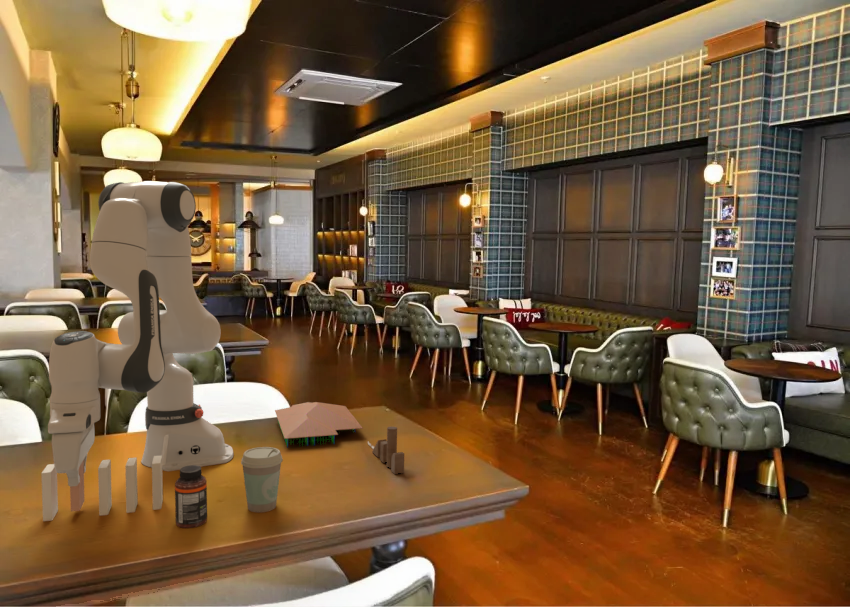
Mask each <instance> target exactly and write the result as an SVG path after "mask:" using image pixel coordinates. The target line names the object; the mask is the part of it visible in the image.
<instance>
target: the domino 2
mask: <svg viewBox="0 0 850 607" xmlns="http://www.w3.org/2000/svg"><path fill="white" fill-rule="evenodd" d="M97 470H98V472H97V473H98V477H97V478H98V482H97V483H98V512H99V514H98V516H107V515H109V514H110V510H111V508H112V506H113V504H112V500H113V499H112V461H111V459H102V460H101V462H100V464H99V466H98V469H97Z"/></svg>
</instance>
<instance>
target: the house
mask: <svg viewBox="0 0 850 607" xmlns="http://www.w3.org/2000/svg"><path fill="white" fill-rule="evenodd" d="M274 412H275V415H276V417H277V423H278V426H279V429H280V431H281V433H282V436H283V439H284V442H285V445H286V448H289V443H290V444H292V443H293V441H292V439H301V438H302V440H299V443H302V444H301V445H302V447H303V445H304V446H305V447H306V446H307V447H309V438H310V441H311V446H313V447H315V446H316V441H320V446H321V445H322V444H323V445H324V444H325V443H324V441H327V440H329V441H330V440H331V443H332V444H333V445H335V438H336V437H335V436H338V435H339V433H338V432H337V431H348V430H352V432H353V433H354V432H355V433H356V430H357V429H363V427H362V425H361V424H360V422H358V420H357V419H356V417H355V416H354V415H353V413H351V412H350V410H349V409H348V408H347V406H346V405H339V404H334V403H333V404H332V403H325V402H317V401H315V402H312V401H311V402H310V401H307V402H303V403H299V404H292V405H291V407H290V406H289V407H286V408H285V407H283V408H279V409H275V410H274ZM353 430H354V431H353ZM352 432H351V433H352ZM327 436H328V439H327V438H325V439H324V437H327ZM319 437H320V438H319ZM321 437H322V438H321ZM316 438H317V439H316ZM330 438H331V439H330ZM289 441H290V442H289ZM321 441H322V442H323V443H322V444H321ZM303 442H304V443H305V444H303ZM301 445H300V444H299V447H300V446H301Z"/></svg>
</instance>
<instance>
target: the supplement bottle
mask: <svg viewBox="0 0 850 607" xmlns="http://www.w3.org/2000/svg"><path fill="white" fill-rule="evenodd" d="M207 486H208V483H207V478H206V477H205V476H204V475H202V466H201V467H200V466H197V465H190V466H185V467H182V468H181V469H180V470H179V478H177V480H175V483H174V500H175V501H174V502H175V503H174V504H175V524H176V526H177V527H178V528H182V529H193V528H197V527H200V526H203V525H205V523H207V520H208V491H207V490H208V487H207Z"/></svg>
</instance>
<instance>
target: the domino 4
mask: <svg viewBox="0 0 850 607" xmlns="http://www.w3.org/2000/svg"><path fill="white" fill-rule="evenodd" d="M151 481H152V482H151V486H152V488H151V489H152V495H151V496H152V510H153V511H154V510H162V506H163V502H164V501H163V500H164V496H163V495H164V492H163V491H164V490H163V486H164V485H163V483H164V482H163V470H162V455H161V456H154V458H153V462H152V467H151Z"/></svg>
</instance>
